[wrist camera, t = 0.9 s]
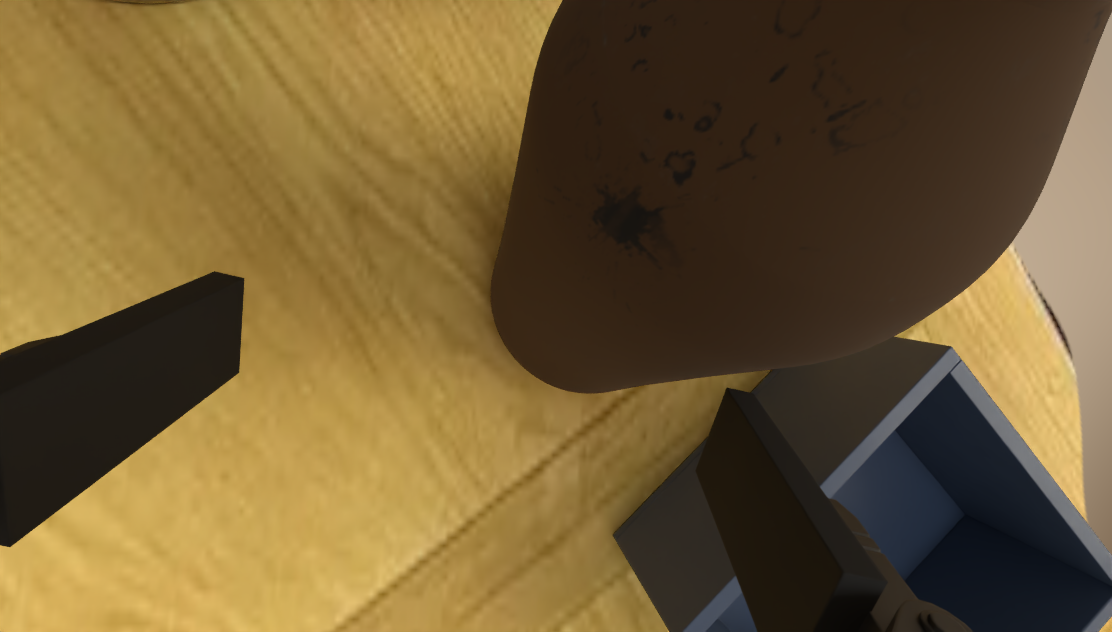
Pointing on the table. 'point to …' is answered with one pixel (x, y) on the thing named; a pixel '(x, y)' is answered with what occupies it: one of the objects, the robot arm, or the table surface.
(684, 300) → the brown bottle
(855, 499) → the blue-grey hollow square box
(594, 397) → the table surface
